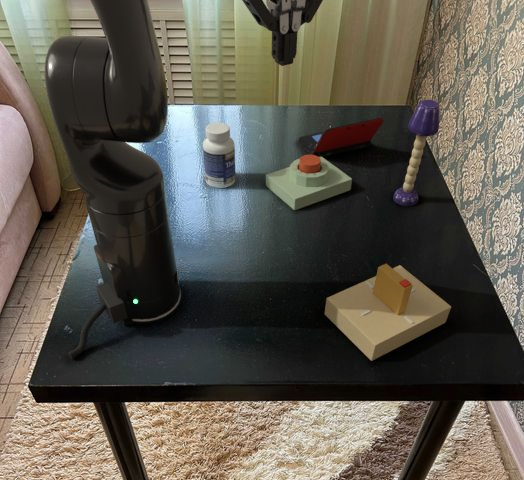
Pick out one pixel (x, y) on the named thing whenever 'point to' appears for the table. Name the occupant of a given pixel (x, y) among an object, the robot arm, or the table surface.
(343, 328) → the plate
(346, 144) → the handheld game console
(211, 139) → the pill bottle
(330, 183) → the pale green button base
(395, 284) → the lock knob
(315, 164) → the bell button
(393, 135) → the table surface
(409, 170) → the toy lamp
